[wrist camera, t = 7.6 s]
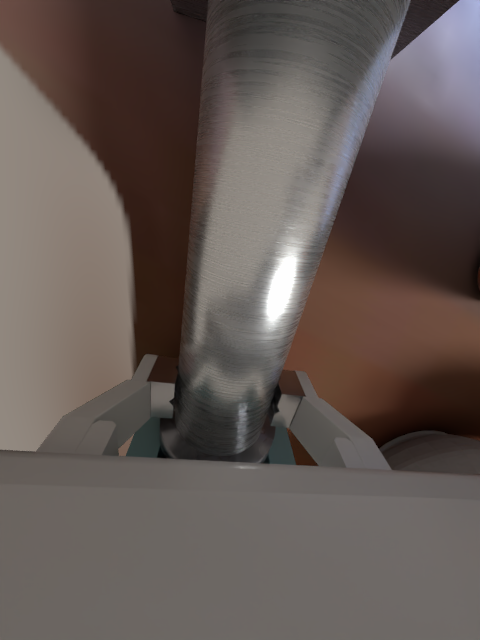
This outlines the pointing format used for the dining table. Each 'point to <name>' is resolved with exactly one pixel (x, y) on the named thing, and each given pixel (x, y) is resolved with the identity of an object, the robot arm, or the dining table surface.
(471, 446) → the coffee pot
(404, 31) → the sleeve
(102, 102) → the dining table surface
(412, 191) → the dining table surface
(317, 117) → the tube
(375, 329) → the dining table surface
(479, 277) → the supplement bottle
